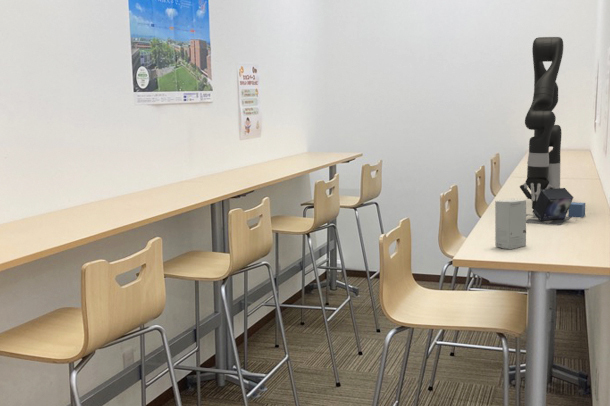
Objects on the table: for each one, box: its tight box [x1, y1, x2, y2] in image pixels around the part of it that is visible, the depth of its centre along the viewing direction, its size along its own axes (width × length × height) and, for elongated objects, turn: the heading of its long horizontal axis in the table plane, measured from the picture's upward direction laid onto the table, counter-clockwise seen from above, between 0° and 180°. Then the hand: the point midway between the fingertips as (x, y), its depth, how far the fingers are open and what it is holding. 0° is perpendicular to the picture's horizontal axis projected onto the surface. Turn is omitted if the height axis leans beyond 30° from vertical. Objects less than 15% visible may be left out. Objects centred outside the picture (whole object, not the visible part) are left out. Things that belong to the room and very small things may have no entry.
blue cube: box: [567, 201, 586, 219], centre depth 266 cm, size 5×5×5 cm
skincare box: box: [494, 198, 527, 250], centre depth 219 cm, size 8×6×15 cm
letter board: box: [526, 213, 573, 226], centre depth 263 cm, size 17×20×1 cm
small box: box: [532, 187, 574, 221], centre depth 257 cm, size 11×6×10 cm, turn 107°
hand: (536, 210), depth 263 cm, fingers closed
